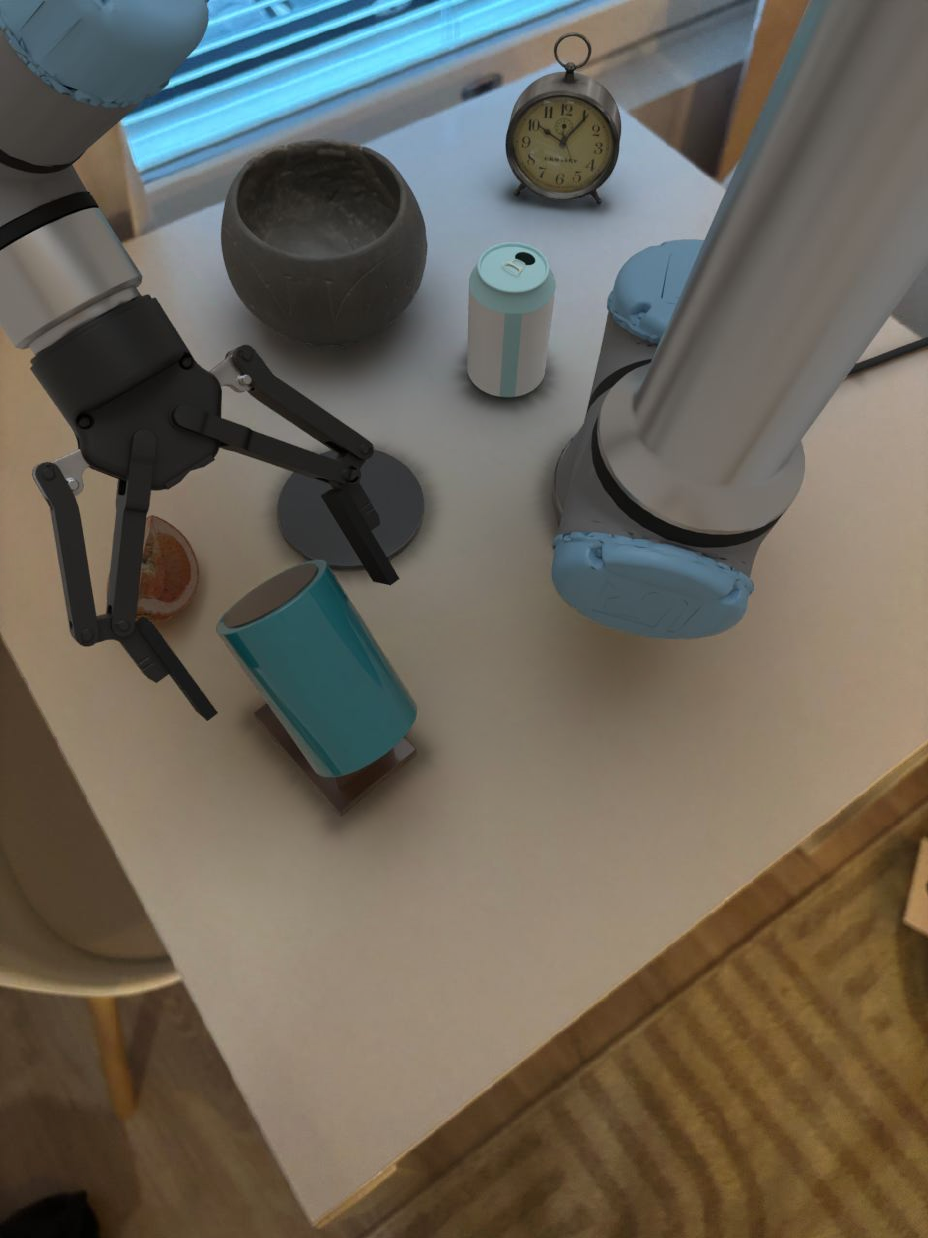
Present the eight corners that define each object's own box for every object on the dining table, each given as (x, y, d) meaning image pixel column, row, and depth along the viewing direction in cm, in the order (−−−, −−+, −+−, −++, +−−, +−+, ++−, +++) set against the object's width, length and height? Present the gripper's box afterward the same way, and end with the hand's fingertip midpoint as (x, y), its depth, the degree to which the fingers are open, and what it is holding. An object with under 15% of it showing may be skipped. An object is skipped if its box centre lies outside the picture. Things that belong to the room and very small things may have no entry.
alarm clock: (501, 204, 96) (510, 42, 82) (508, 170, 99) (518, 8, 85) (608, 217, 96) (635, 56, 82) (612, 182, 98) (640, 21, 84)
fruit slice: (194, 641, 72) (177, 609, 67) (105, 640, 72) (83, 608, 67) (209, 549, 76) (194, 513, 71) (125, 548, 76) (105, 512, 71)
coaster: (409, 441, 81) (409, 436, 81) (437, 556, 76) (436, 551, 75) (270, 463, 80) (269, 459, 80) (288, 582, 74) (286, 578, 74)
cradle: (254, 717, 69) (224, 651, 60) (330, 660, 71) (312, 587, 62) (340, 816, 65) (322, 763, 56) (417, 753, 68) (411, 691, 58)
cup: (228, 679, 64) (180, 580, 53) (316, 614, 67) (288, 506, 55) (348, 818, 60) (324, 742, 48) (438, 743, 62) (435, 654, 51)
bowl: (372, 222, 95) (361, 100, 84) (464, 334, 88) (466, 218, 76) (208, 285, 90) (174, 165, 79) (291, 409, 83) (266, 296, 72)
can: (468, 342, 87) (470, 233, 77) (544, 345, 87) (557, 236, 77) (465, 401, 84) (467, 295, 73) (544, 403, 84) (558, 298, 73)
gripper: (259, 233, 57) (427, 528, 65) (-135, 448, 49) (112, 757, 57) (300, 200, 50) (481, 533, 58) (-147, 443, 42) (135, 792, 50)
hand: (300, 644), depth 57 cm, fingers open, 13 cm apart
